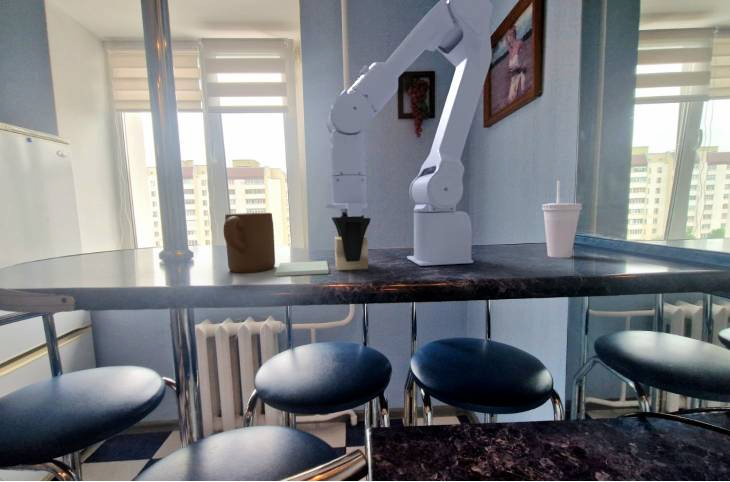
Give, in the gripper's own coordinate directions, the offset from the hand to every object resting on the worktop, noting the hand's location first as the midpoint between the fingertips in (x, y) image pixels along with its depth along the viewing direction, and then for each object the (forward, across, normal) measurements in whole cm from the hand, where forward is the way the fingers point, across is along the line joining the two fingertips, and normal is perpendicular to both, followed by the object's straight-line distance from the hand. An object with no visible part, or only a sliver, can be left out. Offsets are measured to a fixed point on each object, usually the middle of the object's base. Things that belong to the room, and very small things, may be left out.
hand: (350, 258), depth 55 cm
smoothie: (+2, 0, +39) cm, 39 cm away
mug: (+2, 0, -17) cm, 17 cm away
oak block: (+1, 0, 0) cm, 1 cm away
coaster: (+1, 0, -8) cm, 8 cm away
